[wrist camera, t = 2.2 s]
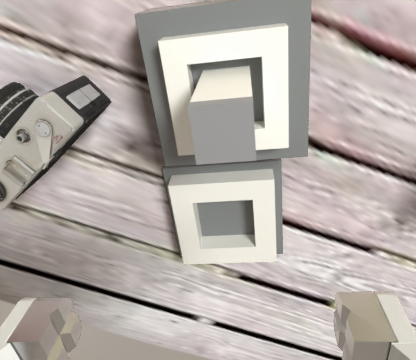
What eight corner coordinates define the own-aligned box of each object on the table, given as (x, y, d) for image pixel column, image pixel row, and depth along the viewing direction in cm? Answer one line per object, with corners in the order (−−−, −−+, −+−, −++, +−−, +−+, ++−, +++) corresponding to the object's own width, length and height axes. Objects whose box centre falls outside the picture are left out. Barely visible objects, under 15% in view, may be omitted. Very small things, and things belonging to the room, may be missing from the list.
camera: (63, 42, 36) (7, 63, 27) (123, 112, 39) (90, 150, 30) (-14, 115, 41) (-83, 152, 32) (45, 172, 44) (-3, 219, 35)
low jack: (163, 166, 42) (157, 179, 39) (280, 158, 40) (283, 170, 37) (181, 254, 49) (177, 270, 46) (282, 250, 47) (284, 266, 44)
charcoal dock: (151, 8, 33) (127, 16, 26) (300, -11, 31) (316, -9, 25) (175, 142, 40) (161, 176, 33) (298, 132, 38) (311, 166, 31)
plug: (203, 70, 30) (187, 107, 21) (249, 65, 29) (253, 101, 21) (208, 114, 32) (196, 164, 23) (252, 110, 31) (256, 160, 23)
